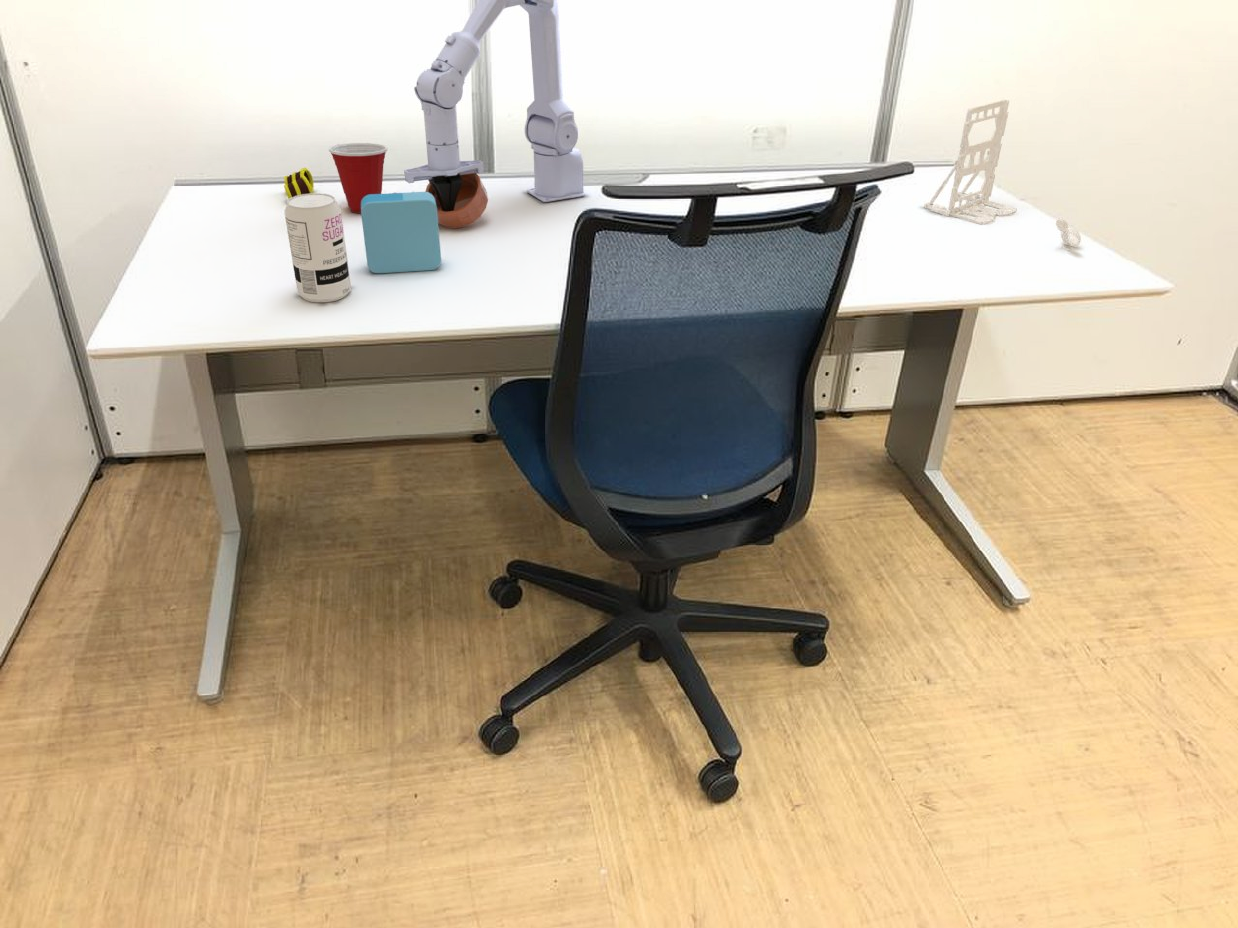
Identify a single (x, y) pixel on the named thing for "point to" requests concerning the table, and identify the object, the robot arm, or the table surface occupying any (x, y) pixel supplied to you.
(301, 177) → the opera glasses
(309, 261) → the supplement can
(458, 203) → the bowl
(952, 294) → the table surface
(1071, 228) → the rabbit figurine
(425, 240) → the light blue rounded block
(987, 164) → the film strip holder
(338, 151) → the plastic cup
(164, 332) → the table surface
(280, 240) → the table surface
